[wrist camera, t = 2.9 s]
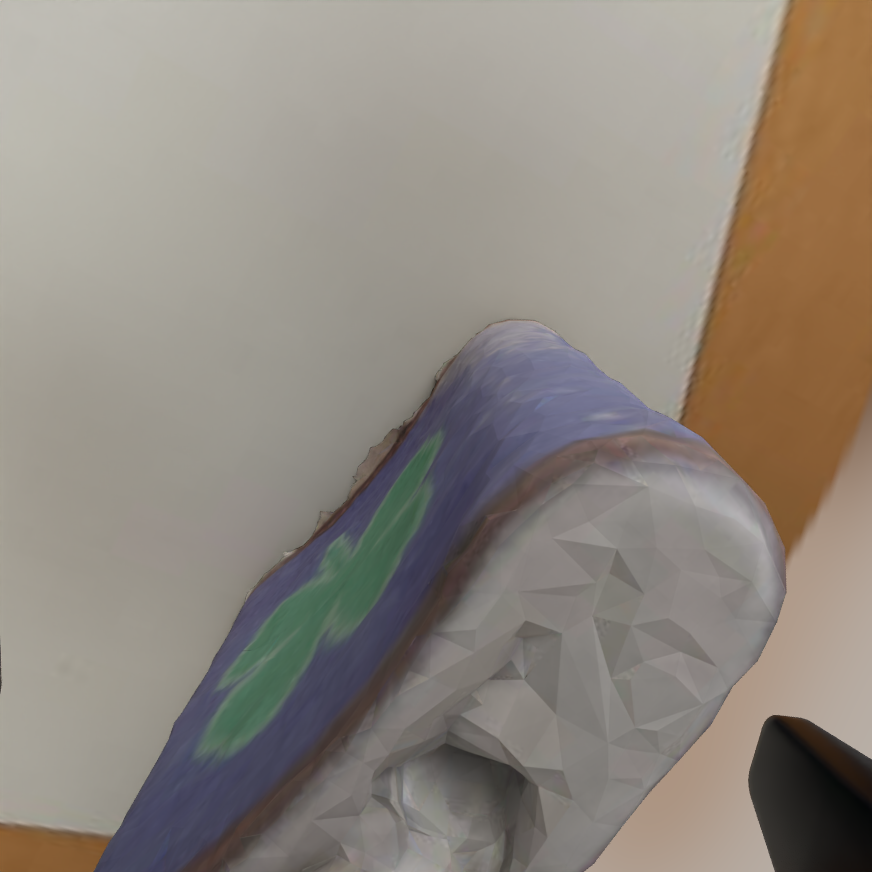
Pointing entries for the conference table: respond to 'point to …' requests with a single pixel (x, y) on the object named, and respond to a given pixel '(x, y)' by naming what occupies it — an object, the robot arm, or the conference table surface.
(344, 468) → the conference table surface
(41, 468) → the conference table surface
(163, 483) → the conference table surface
